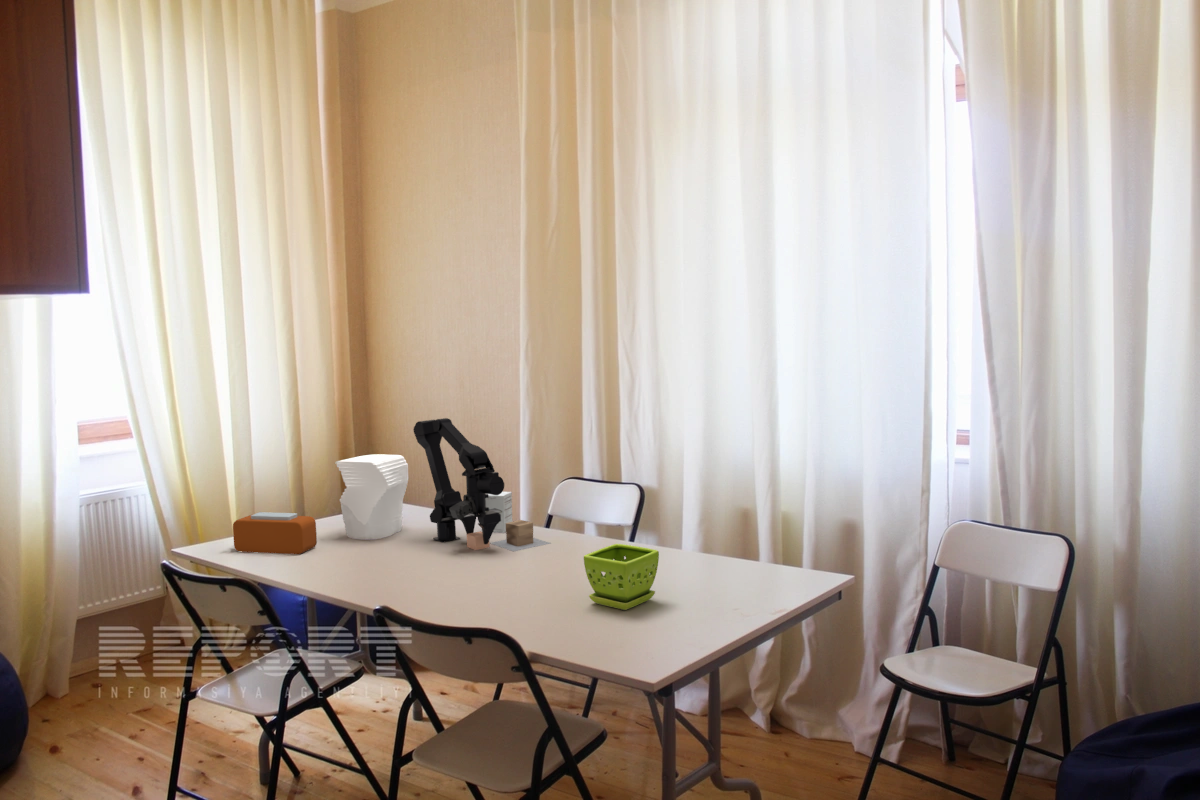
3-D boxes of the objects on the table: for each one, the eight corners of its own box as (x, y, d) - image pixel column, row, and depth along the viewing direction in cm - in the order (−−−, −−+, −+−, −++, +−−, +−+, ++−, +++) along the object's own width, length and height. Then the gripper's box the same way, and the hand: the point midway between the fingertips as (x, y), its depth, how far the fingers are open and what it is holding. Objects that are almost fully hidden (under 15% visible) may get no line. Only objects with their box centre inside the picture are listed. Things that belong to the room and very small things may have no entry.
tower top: (505, 533, 289) (505, 523, 288) (520, 529, 293) (520, 519, 293) (518, 536, 284) (518, 526, 284) (533, 532, 289) (533, 522, 288)
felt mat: (488, 543, 290) (488, 542, 290) (525, 536, 299) (525, 535, 299) (513, 552, 279) (513, 551, 279) (551, 544, 288) (551, 543, 288)
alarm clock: (317, 548, 291) (315, 512, 290) (303, 555, 283) (301, 518, 281) (250, 545, 296) (247, 510, 295) (233, 552, 288) (231, 516, 287)
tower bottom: (506, 543, 289) (506, 532, 289) (522, 539, 293) (522, 529, 293) (517, 546, 285) (516, 536, 284) (533, 543, 289) (533, 533, 288)
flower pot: (617, 590, 239) (616, 542, 238) (662, 600, 230) (661, 550, 229) (582, 604, 228) (581, 554, 227) (627, 615, 219) (626, 562, 218)
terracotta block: (467, 548, 286) (466, 534, 285) (481, 545, 289) (480, 531, 289) (475, 551, 282) (475, 536, 282) (489, 548, 285) (489, 534, 285)
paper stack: (329, 538, 302) (325, 460, 299) (388, 521, 325) (385, 449, 322) (376, 546, 291) (372, 465, 288) (434, 527, 314) (431, 452, 311)
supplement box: (483, 532, 305) (482, 494, 304) (493, 527, 312) (491, 490, 311) (504, 533, 303) (503, 495, 302) (513, 528, 310) (512, 491, 309)
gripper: (437, 490, 286) (439, 540, 288) (469, 499, 272) (471, 551, 273) (469, 485, 293) (470, 534, 294) (501, 494, 278) (503, 545, 280)
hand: (477, 541), depth 285 cm, fingers open, 9 cm apart
